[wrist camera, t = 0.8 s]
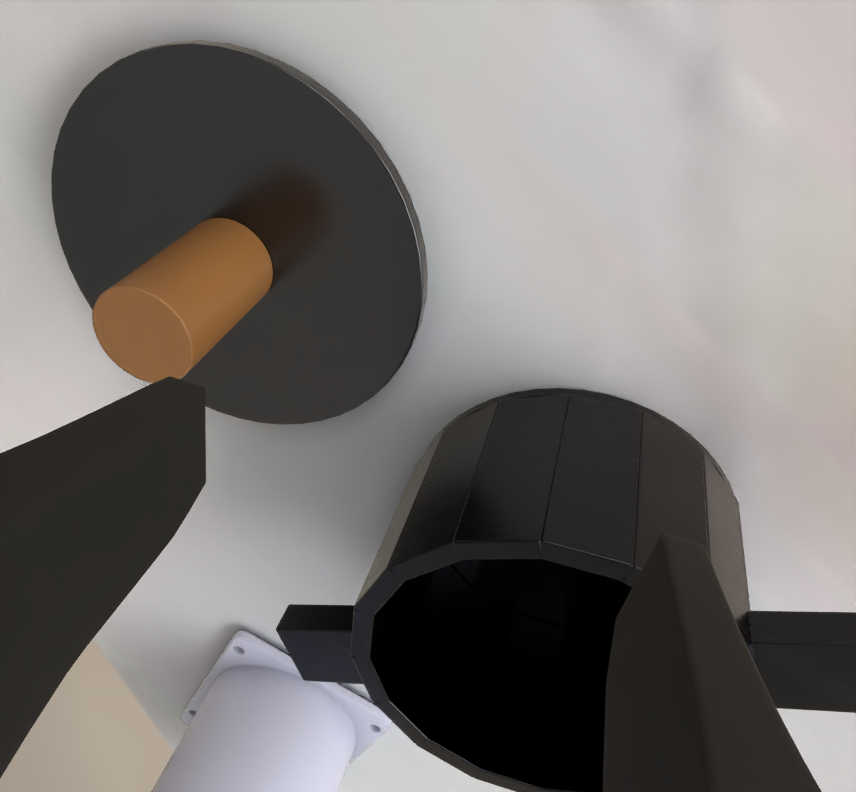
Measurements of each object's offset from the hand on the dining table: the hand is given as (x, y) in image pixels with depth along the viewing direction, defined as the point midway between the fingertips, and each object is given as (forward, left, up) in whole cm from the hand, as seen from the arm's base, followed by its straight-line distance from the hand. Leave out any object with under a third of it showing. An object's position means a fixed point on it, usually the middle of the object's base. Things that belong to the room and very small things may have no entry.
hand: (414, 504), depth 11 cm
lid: (-5, +7, -10) cm, 13 cm away
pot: (-7, -6, -10) cm, 14 cm away
